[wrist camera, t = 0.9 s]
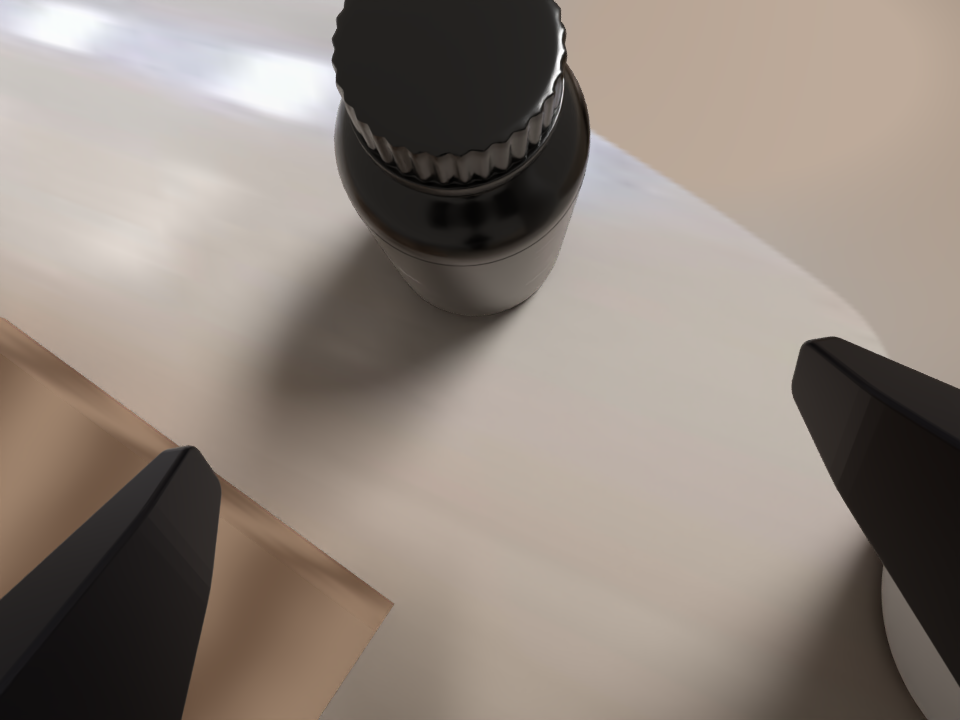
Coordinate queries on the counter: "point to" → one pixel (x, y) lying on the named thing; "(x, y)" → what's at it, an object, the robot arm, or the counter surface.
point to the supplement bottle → (461, 142)
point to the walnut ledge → (238, 557)
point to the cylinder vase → (918, 657)
